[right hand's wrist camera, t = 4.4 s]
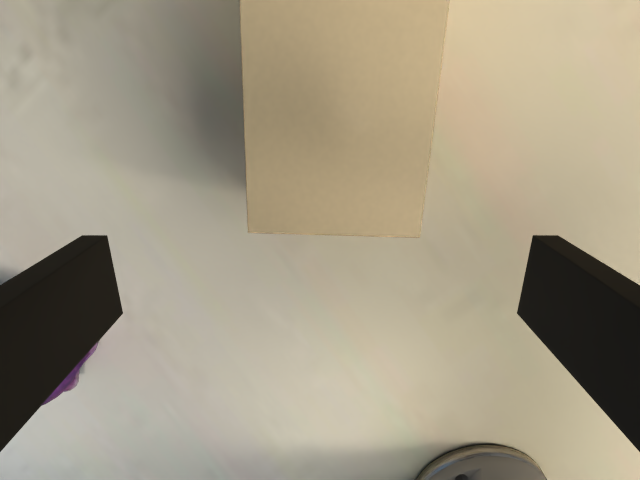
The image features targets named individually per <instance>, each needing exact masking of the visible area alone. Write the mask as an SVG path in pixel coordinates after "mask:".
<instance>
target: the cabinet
mask: <svg viewBox="0 0 640 480" xmlns="http://www.w3.org/2000/svg"><path fill="white" fill-rule="evenodd" d="M449 1H450V0H239V2H240V30H241V57H242V85H243V112H244V140H245V167H246V195H247V223H248V233H270V234H306V235H342V236H377V237H413V238H419V237H420V232H421V224H422V216H423V208H424V200H425V192H426V184H427V176H428V168H429V160H430V152H431V144H432V136H433V128H434V120H435V112H436V105H437V97H438V89H439V81H440V73H441V65H442V57H443V49H444V41H445V33H446V25H447V17H448V9H449Z"/></svg>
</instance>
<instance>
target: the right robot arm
mask: <svg viewBox="0 0 640 480" xmlns="http://www.w3.org/2000/svg"><path fill="white" fill-rule="evenodd" d="M122 314H123V311H122V306H121V302H120V297H119V292H118V287H117V282H116V277H115V272H114V267H113V262H112V257H111V252H110V247H109V243H108V238H107V236H81V237H79V238H77V239H76V240H74V241H72V242H71V243H69V244H67V245H66V246H64V247H63V248H61V249H59V250H58V251H56V252H54V253H53V254H51V255H49V256H48V257H46V258H44V259H43V260H41V261H40V262H38V263H36V264H35V265H33V266H31V267H30V268H28V269H26V270H25V271H23V272H22V273H20V274H18V275H17V276H15V277H13V278H12V279H10V280H8V281H7V282H5V283H3V284H2V285H0V452H1V450H2V449H3V448H4V447H5V446H6V445H7V444H8V443H9V441H10V440H11V439H12V438H13V437H14V436H15V435H16V433H17V432H18V431H19V430H20V429H21V428H22V427H23V426H24V424H25V423H26V422H27V421H28V420H29V419H30V418H31V417H32V415H33V414H34V413H35V412H36V411H37V410H38V409H39V407H40V406H41V405H42V404H43V403H44V402H45V401H46V400H47V398H48V397H49V396H50V395H51V394H52V393H53V392H54V391H55V389H56V388H57V387H58V386H59V385H60V384H61V383H62V382H63V380H64V379H65V378H66V377H67V376H68V375H69V374H70V372H71V371H72V370H73V369H74V368H75V367H76V366H77V365H78V363H79V362H80V361H81V360H82V359H83V358H84V357H85V356H86V354H87V353H88V352H89V351H90V350H91V349H92V348H93V346H94V345H95V344H96V343H97V342H98V341H99V340H100V339H101V337H102V336H103V335H104V334H105V333H106V332H107V331H108V330H109V328H110V327H111V326H112V325H113V324H114V323H115V322H116V321H117V319H118V318H119V317H120V316H121V315H122ZM517 314H518V315H519V316H520V317H521V318H522V319H523V321H524V322H525V323H526V324H527V325H528V326H529V327H530V328H531V330H532V331H533V332H534V333H535V334H536V335H537V336H538V337H539V339H540V340H541V341H542V342H543V343H544V344H545V345H546V346H547V348H548V349H549V350H550V351H551V352H552V353H553V354H554V356H555V357H556V358H557V359H558V360H559V361H560V362H561V363H562V365H563V366H564V367H565V368H566V369H567V370H568V371H569V372H570V374H571V375H572V376H573V377H574V378H575V379H576V380H577V382H578V383H579V384H580V385H581V386H582V387H583V388H584V389H585V391H586V392H587V393H588V394H589V395H590V396H591V397H592V398H593V400H594V401H595V402H596V403H597V404H598V405H599V406H600V407H601V409H602V410H603V411H604V412H605V413H606V414H607V415H608V417H609V418H610V419H611V420H612V421H613V422H614V423H615V424H616V426H617V427H618V428H619V429H620V430H621V431H622V432H623V433H624V435H625V436H626V437H627V438H628V439H629V440H630V441H631V443H632V444H633V445H634V446H635V447H636V448H637V449H638V450H639V452H640V285H638V284H637V283H635V282H633V281H632V280H630V279H628V278H627V277H625V276H623V275H622V274H620V273H618V272H617V271H615V270H614V269H612V268H610V267H609V266H607V265H605V264H604V263H602V262H600V261H599V260H597V259H596V258H594V257H592V256H591V255H589V254H587V253H586V252H584V251H582V250H581V249H579V248H577V247H576V246H574V245H573V244H571V243H569V242H568V241H566V240H564V239H563V238H561V237H559V236H533V238H532V243H531V247H530V252H529V257H528V262H527V267H526V272H525V277H524V282H523V287H522V292H521V297H520V302H519V306H518V311H517ZM416 480H547V479H546V477H545V476H544V474H543V472H542V470H541V469H540V467H539V466H538V465H537V463H536V462H535V461H534V460H533V459H531V458H530V457H529V456H527V455H526V454H524V453H522V452H520V451H518V450H515V449H512V448H508V447H504V446H498V445H477V446H470V447H465V448H461V449H458V450H455V451H452V452H450V453H447V454H445V455H443V456H441V457H440V458H438V459H436V460H435V461H433V462H432V463H431V464H429V465H428V466H427V467H426V468H425V469H424V470H423V471H422V472H421V473H420V475H419V476H418V477H417V479H416Z"/></svg>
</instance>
